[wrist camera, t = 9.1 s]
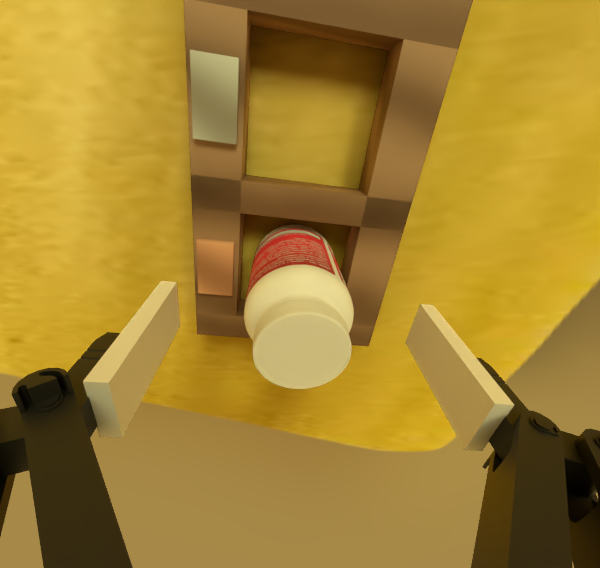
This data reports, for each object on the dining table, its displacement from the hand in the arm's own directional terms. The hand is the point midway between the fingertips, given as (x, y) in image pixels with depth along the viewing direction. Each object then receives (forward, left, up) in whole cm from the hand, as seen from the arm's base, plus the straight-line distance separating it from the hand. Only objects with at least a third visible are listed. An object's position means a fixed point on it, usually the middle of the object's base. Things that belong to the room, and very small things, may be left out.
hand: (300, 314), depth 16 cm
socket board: (-5, 0, -8) cm, 9 cm away
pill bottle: (0, 0, -8) cm, 8 cm away
